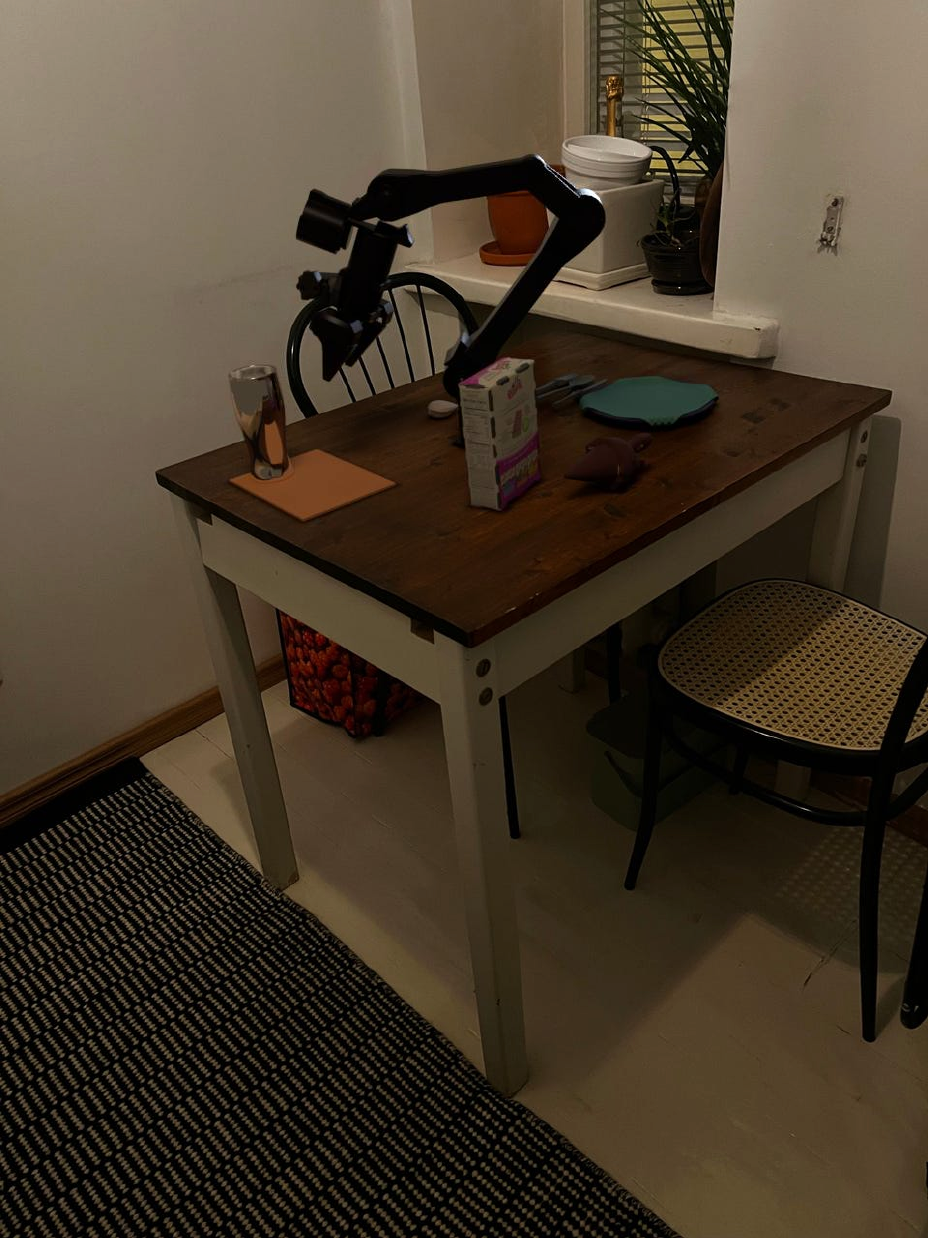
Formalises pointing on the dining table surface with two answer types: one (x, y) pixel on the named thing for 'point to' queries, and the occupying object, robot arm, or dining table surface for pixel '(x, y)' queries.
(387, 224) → the robot arm
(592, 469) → the icecream
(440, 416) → the grey rounded piece
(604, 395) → the cutlery set
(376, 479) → the cloth
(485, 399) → the candy bar box
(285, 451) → the beer glass
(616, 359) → the dining table surface
